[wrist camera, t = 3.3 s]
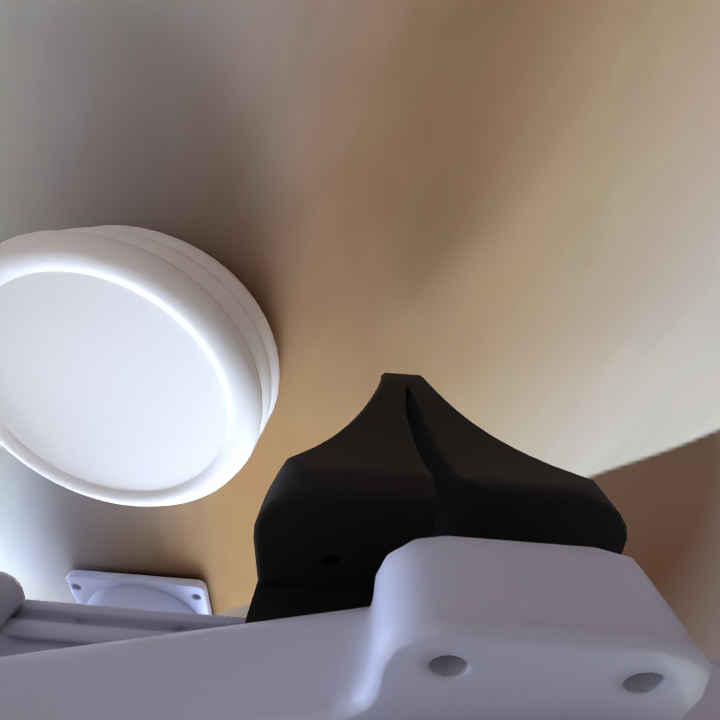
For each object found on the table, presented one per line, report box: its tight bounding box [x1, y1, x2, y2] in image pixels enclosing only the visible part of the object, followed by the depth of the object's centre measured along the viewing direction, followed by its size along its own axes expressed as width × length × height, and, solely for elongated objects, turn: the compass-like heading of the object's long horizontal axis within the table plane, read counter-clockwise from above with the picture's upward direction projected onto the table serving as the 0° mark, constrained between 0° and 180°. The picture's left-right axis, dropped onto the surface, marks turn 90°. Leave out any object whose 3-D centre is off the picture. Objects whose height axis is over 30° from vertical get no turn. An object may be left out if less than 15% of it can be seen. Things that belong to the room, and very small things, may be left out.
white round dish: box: [0, 225, 279, 506], centre depth 13 cm, size 10×10×4 cm
